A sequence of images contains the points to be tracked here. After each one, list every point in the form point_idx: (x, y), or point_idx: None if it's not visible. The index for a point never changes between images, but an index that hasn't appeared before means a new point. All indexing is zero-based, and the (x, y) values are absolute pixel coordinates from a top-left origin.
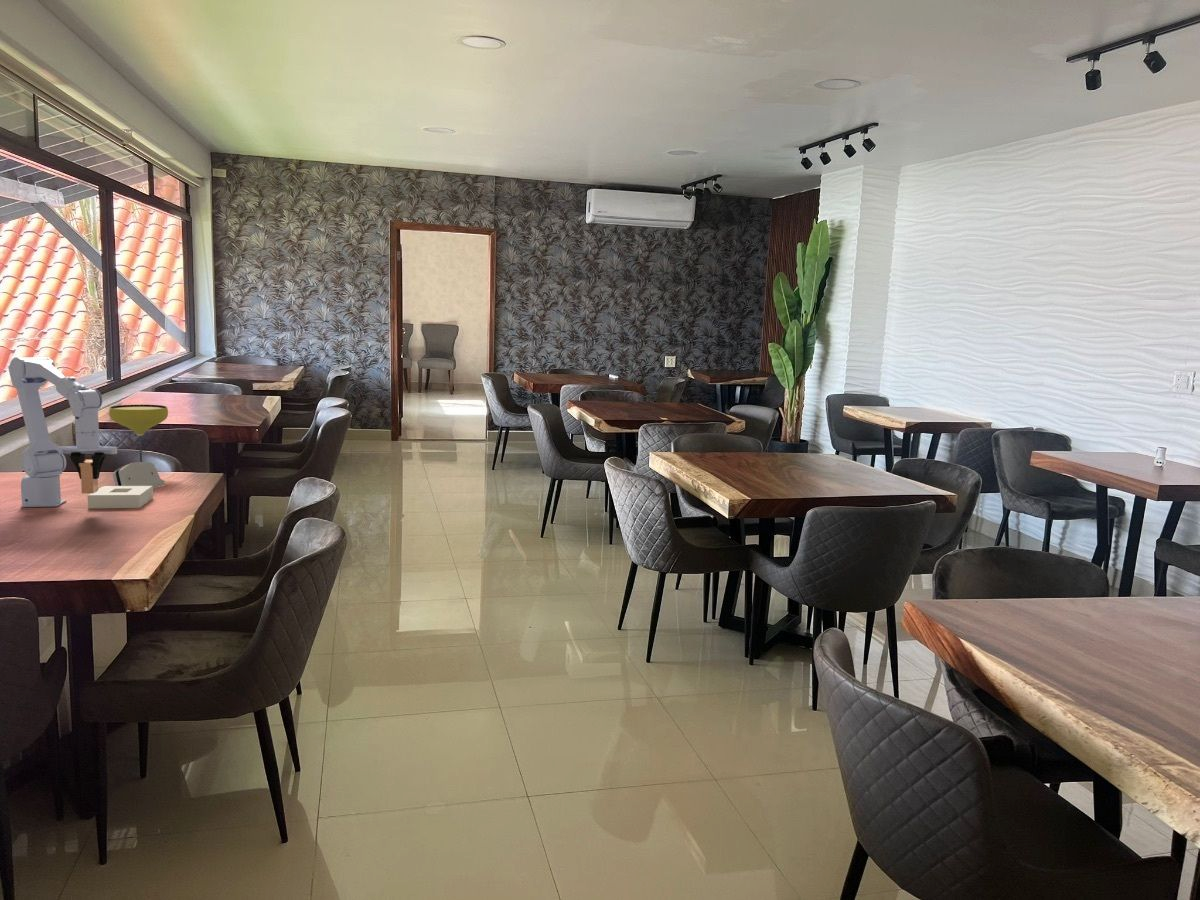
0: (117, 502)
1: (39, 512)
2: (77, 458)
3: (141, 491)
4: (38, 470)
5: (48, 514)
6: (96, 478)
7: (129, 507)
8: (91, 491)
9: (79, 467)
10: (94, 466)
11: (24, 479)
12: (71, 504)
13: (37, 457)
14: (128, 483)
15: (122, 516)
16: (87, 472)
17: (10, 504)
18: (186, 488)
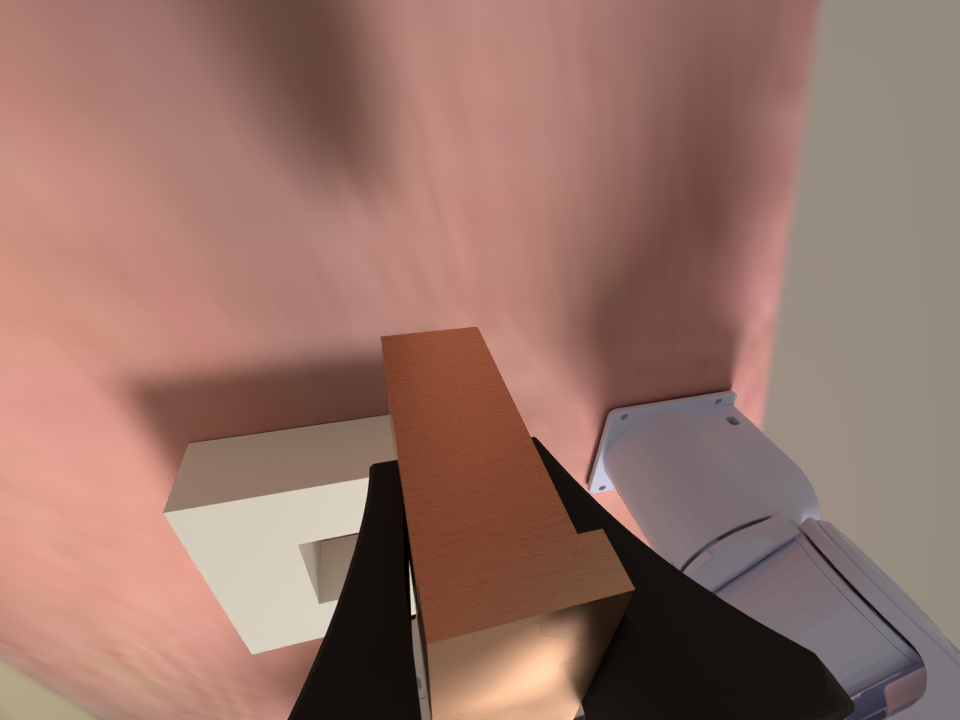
0: (318, 449)
1: (666, 312)
2: (708, 693)
3: (221, 573)
4: (810, 551)
5: (625, 271)
6: (370, 468)
7: (252, 436)
8: (399, 344)
9: None
10: (389, 608)
11: (810, 505)
12: (559, 456)
13: (885, 648)
14: (415, 657)
15: (133, 215)
16: (470, 493)
17: (758, 426)
18: (227, 699)
